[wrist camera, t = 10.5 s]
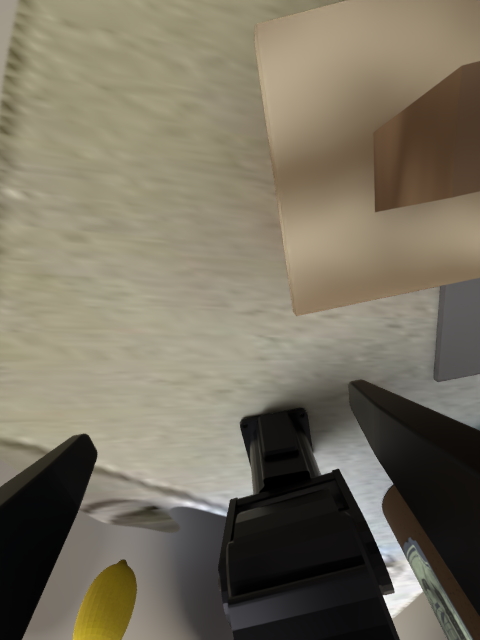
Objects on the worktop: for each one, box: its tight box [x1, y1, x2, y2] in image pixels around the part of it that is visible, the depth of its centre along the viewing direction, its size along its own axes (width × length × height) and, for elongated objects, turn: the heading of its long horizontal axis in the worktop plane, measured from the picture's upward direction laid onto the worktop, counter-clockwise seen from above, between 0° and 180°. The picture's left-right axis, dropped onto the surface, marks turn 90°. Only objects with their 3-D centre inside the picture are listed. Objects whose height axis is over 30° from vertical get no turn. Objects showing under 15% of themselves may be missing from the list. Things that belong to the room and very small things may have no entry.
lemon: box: [73, 560, 137, 640], centre depth 26 cm, size 6×6×8 cm
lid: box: [254, 0, 480, 316], centre depth 10 cm, size 13×13×5 cm
